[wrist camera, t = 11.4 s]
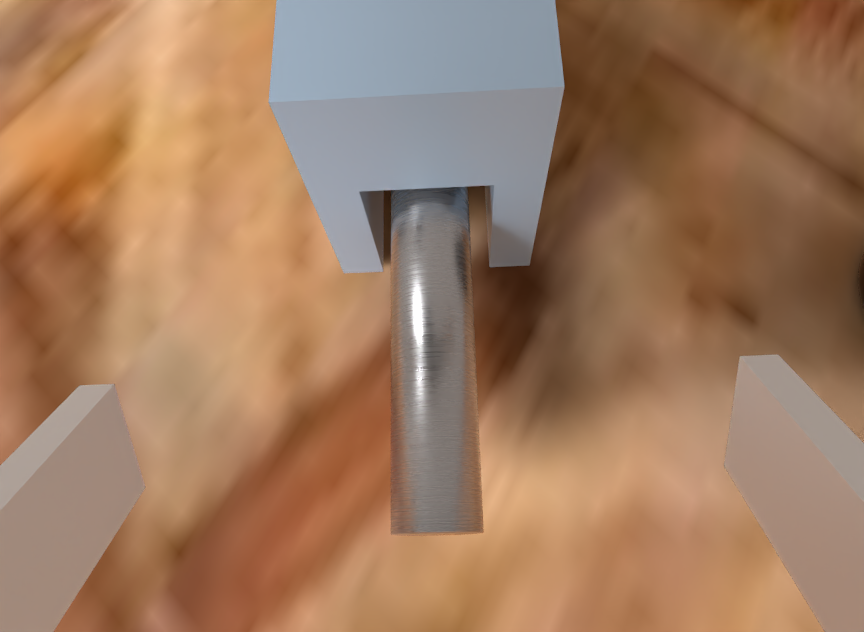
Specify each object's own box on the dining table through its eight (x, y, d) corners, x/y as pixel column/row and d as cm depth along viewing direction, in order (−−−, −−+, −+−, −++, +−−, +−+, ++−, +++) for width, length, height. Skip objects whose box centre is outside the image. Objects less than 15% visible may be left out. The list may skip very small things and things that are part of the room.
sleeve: (529, 265, 25) (564, 86, 16) (344, 273, 25) (268, 102, 16) (518, 130, 27) (544, -99, 18) (347, 139, 27) (282, -81, 18)
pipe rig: (547, 536, 22) (578, 526, 16) (342, 541, 23) (289, 533, 16) (504, -25, 31) (512, -181, 25) (356, -16, 31) (325, -167, 25)
